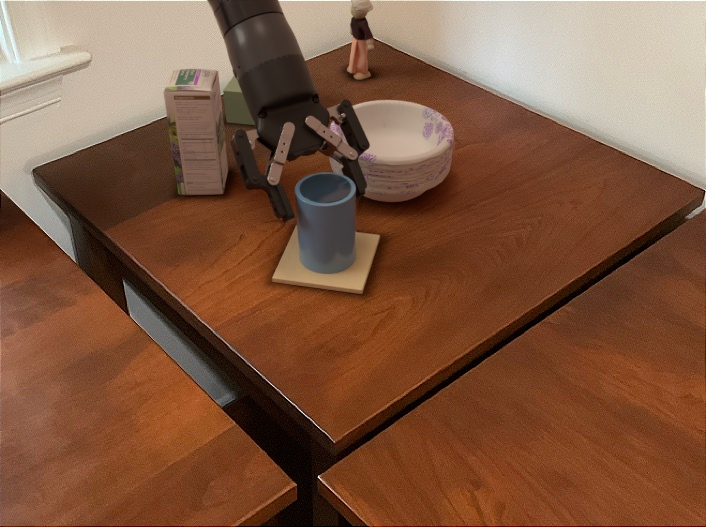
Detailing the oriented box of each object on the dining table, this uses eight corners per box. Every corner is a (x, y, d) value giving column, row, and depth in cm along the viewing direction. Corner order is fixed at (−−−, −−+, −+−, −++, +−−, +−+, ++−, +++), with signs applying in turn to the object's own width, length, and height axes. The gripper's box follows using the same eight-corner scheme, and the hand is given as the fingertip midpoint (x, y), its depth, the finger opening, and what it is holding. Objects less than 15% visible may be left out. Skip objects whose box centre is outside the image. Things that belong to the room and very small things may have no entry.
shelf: (226, 122, 116) (222, 90, 113) (246, 93, 123) (243, 62, 120) (287, 128, 115) (285, 96, 112) (304, 99, 122) (302, 67, 119)
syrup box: (185, 171, 106) (168, 67, 97) (230, 170, 106) (218, 67, 97) (178, 196, 102) (160, 90, 93) (225, 195, 102) (212, 89, 93)
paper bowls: (475, 187, 103) (480, 132, 98) (381, 232, 96) (381, 174, 91) (397, 139, 112) (399, 86, 107) (306, 176, 105) (303, 121, 100)
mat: (272, 282, 89) (271, 278, 88) (296, 228, 96) (296, 224, 96) (362, 294, 87) (362, 290, 87) (380, 238, 95) (380, 234, 94)
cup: (292, 269, 90) (287, 201, 84) (307, 235, 94) (303, 168, 89) (349, 277, 88) (348, 208, 83) (361, 242, 93) (361, 174, 88)
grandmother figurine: (336, 68, 129) (334, -11, 121) (356, 62, 131) (355, -16, 123) (364, 87, 124) (364, 5, 116) (384, 80, 126) (385, -1, 118)
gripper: (215, 69, 81) (275, 221, 81) (339, 38, 87) (396, 179, 86) (201, 96, 88) (256, 236, 88) (317, 66, 94) (369, 197, 93)
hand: (325, 208), depth 87 cm, fingers open, 8 cm apart
